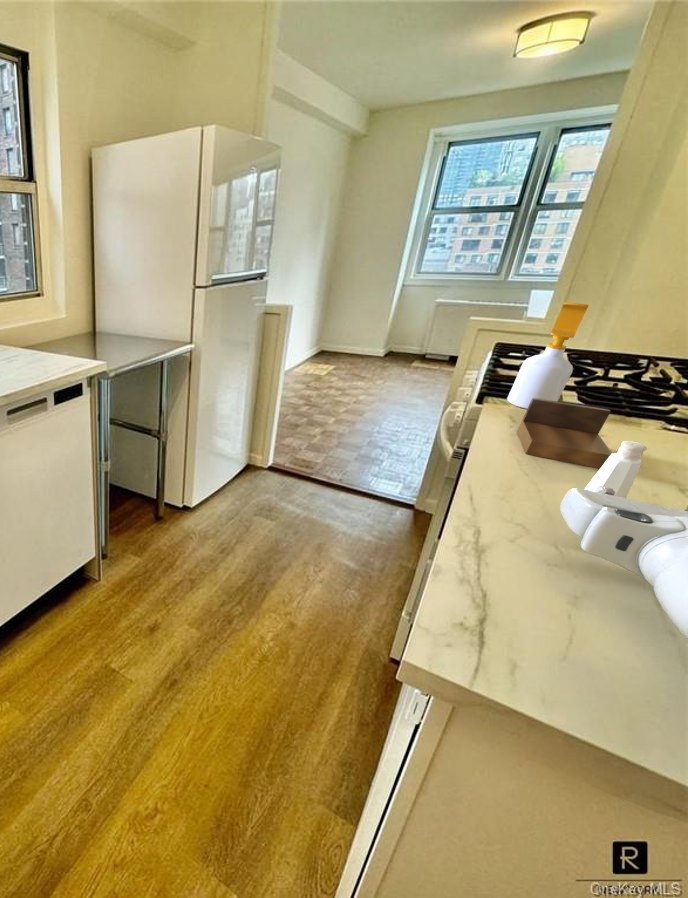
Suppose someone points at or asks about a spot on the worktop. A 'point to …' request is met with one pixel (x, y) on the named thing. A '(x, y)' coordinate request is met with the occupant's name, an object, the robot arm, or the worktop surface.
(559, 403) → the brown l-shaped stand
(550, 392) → the soap bottle
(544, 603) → the worktop surface
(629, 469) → the pepper shaker
